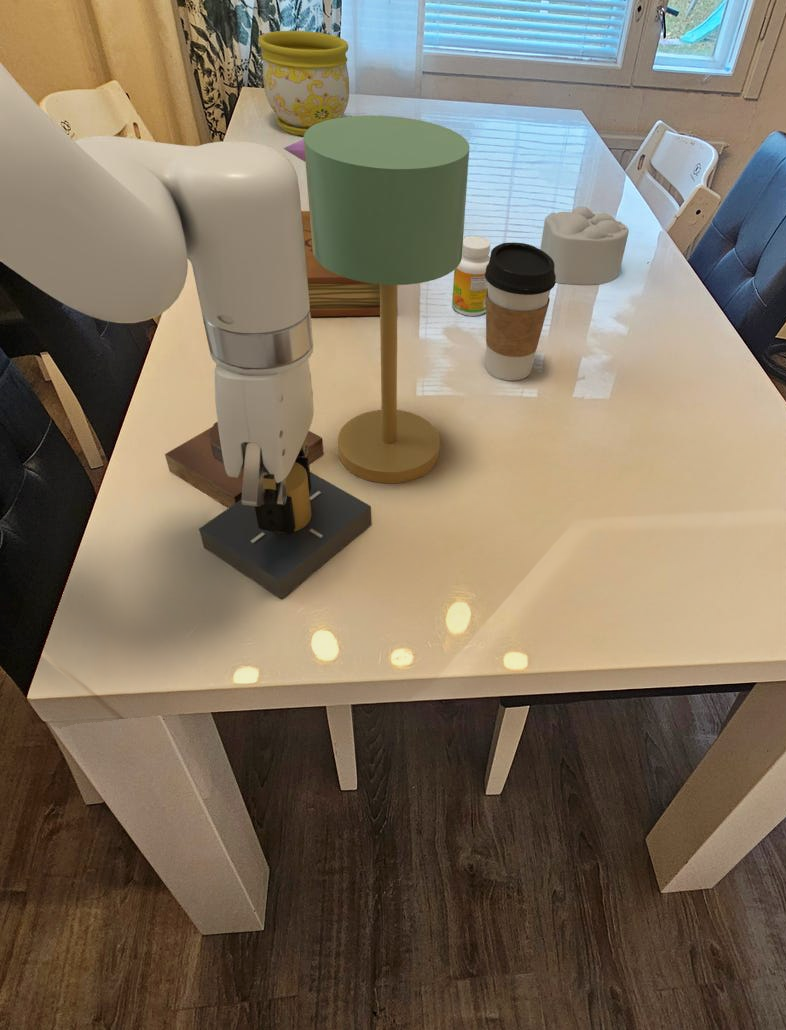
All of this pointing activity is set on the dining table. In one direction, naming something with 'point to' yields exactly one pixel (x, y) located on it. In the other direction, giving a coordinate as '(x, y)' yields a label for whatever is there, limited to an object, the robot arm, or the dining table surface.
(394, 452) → the lamp
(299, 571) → the dimmer panel
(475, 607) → the dining table surface
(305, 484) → the dimmer knob
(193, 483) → the switch block
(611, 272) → the lumpy-topped squat cylinder
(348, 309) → the diary
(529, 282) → the coffee cup
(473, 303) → the supplement bottle
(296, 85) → the flowerpot
